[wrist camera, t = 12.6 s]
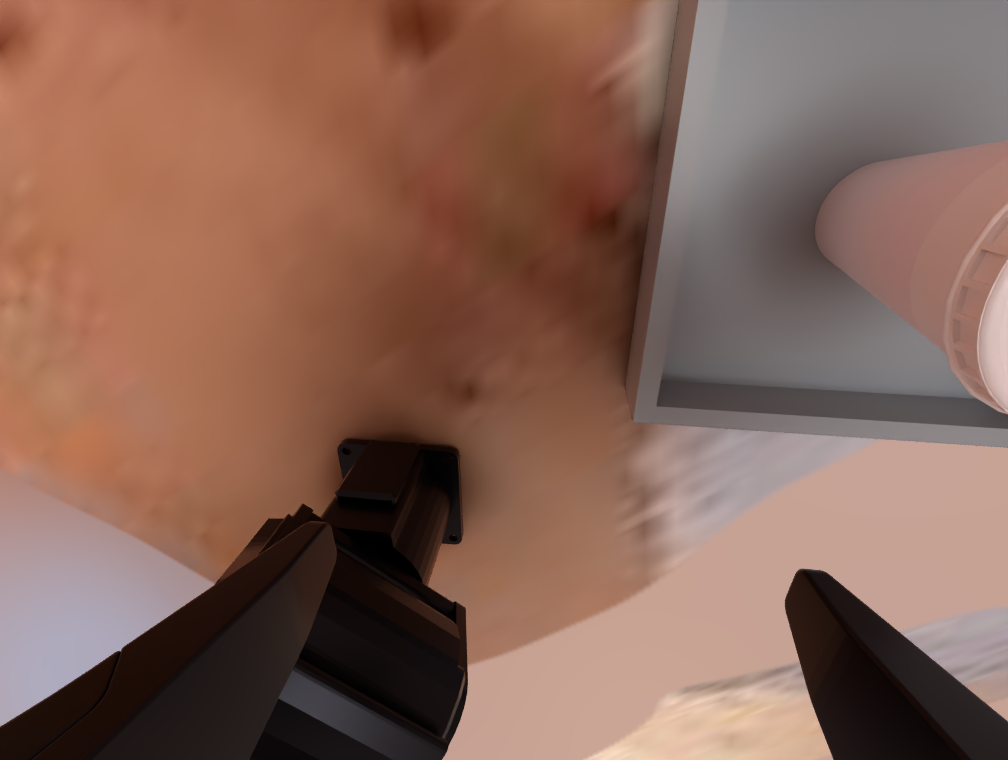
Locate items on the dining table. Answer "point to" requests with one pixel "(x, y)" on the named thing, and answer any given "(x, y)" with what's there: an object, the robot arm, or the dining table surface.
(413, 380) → the dining table surface
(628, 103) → the dining table surface
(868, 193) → the smoothie
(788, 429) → the gray square tray
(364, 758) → the robot arm
